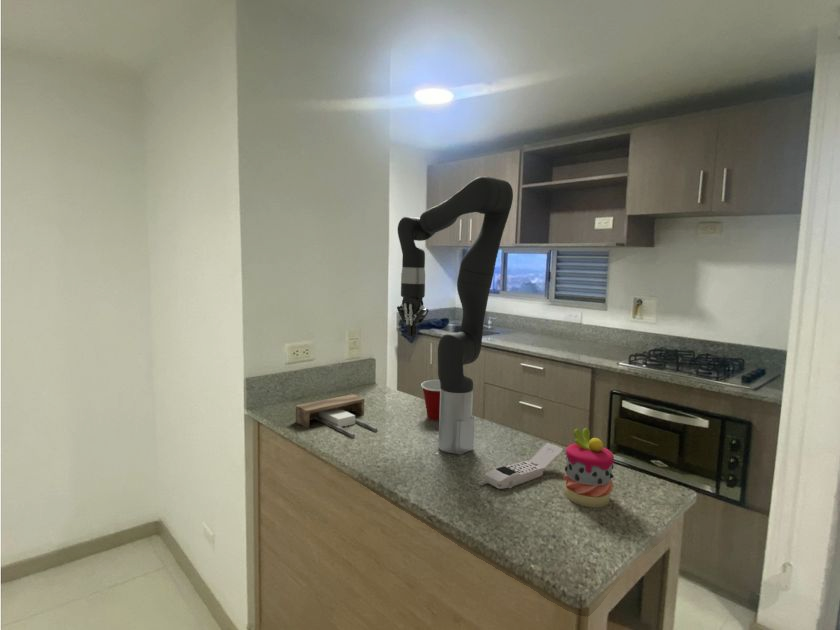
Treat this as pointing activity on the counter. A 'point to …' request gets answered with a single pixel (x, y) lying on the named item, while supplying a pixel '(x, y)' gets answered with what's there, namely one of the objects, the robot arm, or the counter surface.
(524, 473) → the mobile phone
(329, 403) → the overhang
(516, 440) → the counter surface
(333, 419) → the cream rectangular block
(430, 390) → the plastic cup
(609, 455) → the cake
